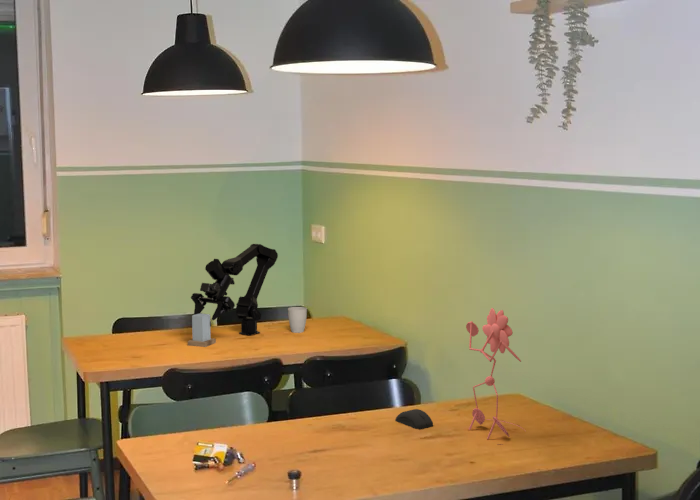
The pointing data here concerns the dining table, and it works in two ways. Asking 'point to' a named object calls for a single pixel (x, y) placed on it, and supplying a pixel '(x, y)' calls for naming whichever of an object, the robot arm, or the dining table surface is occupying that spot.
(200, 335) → the grey upright block
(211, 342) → the upper slab
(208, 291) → the robot arm
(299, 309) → the cup
